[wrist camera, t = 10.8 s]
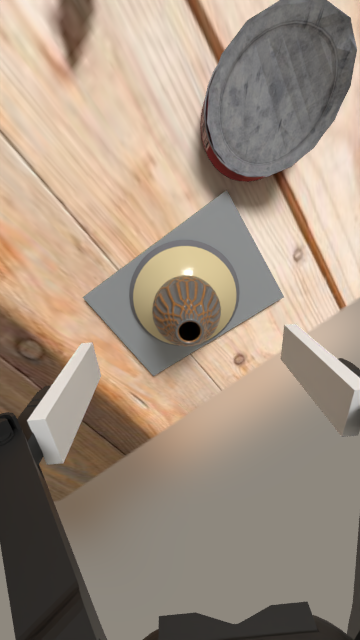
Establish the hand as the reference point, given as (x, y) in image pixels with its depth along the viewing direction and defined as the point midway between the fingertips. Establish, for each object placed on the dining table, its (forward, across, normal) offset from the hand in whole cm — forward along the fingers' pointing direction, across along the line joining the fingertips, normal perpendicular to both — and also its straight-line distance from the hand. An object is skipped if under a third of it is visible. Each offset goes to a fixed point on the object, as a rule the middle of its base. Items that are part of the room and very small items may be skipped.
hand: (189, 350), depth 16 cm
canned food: (+14, +8, +16) cm, 23 cm away
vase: (+12, 0, 0) cm, 12 cm away
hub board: (+14, 0, 0) cm, 14 cm away
